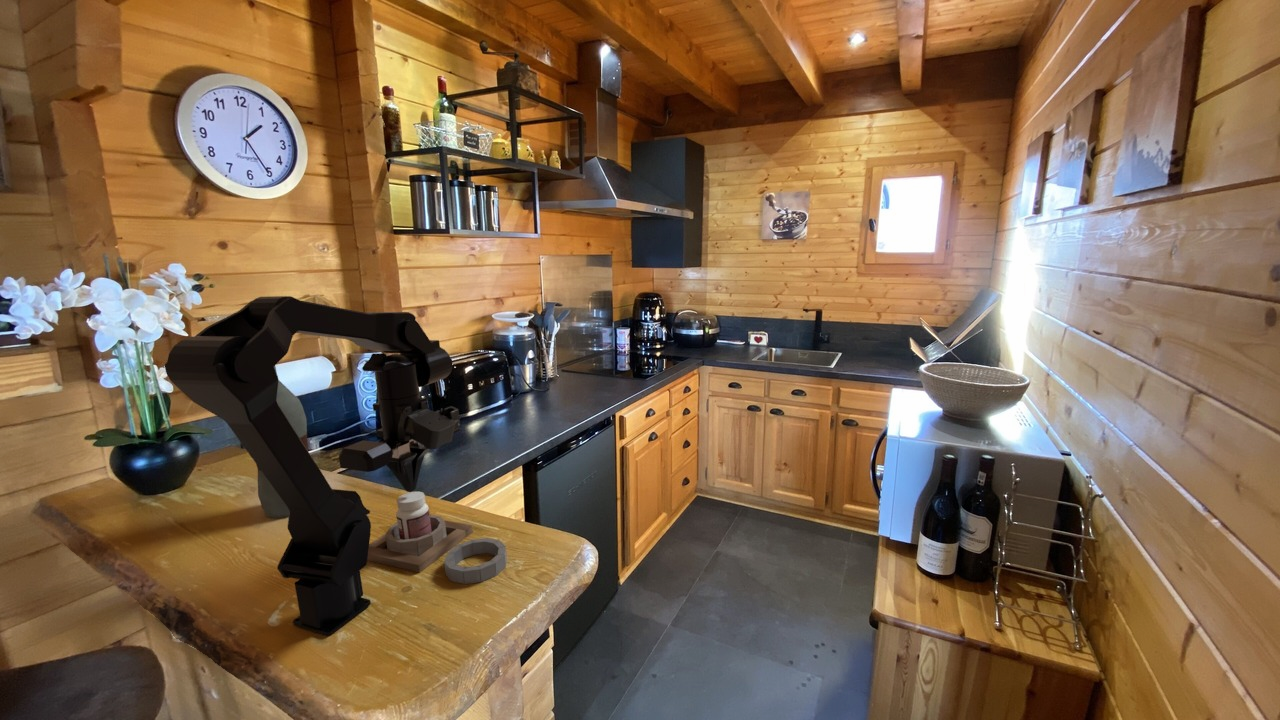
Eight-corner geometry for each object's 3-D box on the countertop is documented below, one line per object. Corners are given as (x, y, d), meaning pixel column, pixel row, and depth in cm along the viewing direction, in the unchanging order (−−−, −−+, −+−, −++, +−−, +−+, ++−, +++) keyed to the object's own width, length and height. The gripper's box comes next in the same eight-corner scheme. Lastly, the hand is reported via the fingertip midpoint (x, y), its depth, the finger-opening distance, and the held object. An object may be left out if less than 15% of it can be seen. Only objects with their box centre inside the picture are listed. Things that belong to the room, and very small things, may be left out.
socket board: (419, 572, 77) (417, 553, 76) (358, 558, 81) (355, 540, 81) (472, 532, 88) (471, 515, 87) (416, 521, 92) (414, 505, 92)
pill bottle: (438, 537, 86) (432, 490, 85) (424, 553, 82) (417, 503, 80) (410, 537, 87) (404, 489, 85) (395, 553, 82) (388, 503, 81)
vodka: (329, 503, 100) (304, 348, 94) (275, 524, 93) (245, 357, 87) (305, 492, 105) (280, 344, 99) (252, 512, 98) (222, 353, 92)
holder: (482, 588, 73) (481, 575, 72) (433, 577, 76) (432, 564, 75) (517, 555, 81) (516, 543, 80) (471, 546, 84) (470, 534, 83)
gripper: (391, 417, 68) (405, 527, 71) (481, 383, 85) (490, 473, 88) (328, 410, 72) (345, 515, 75) (427, 379, 89) (437, 466, 92)
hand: (410, 491), depth 83 cm, fingers closed
